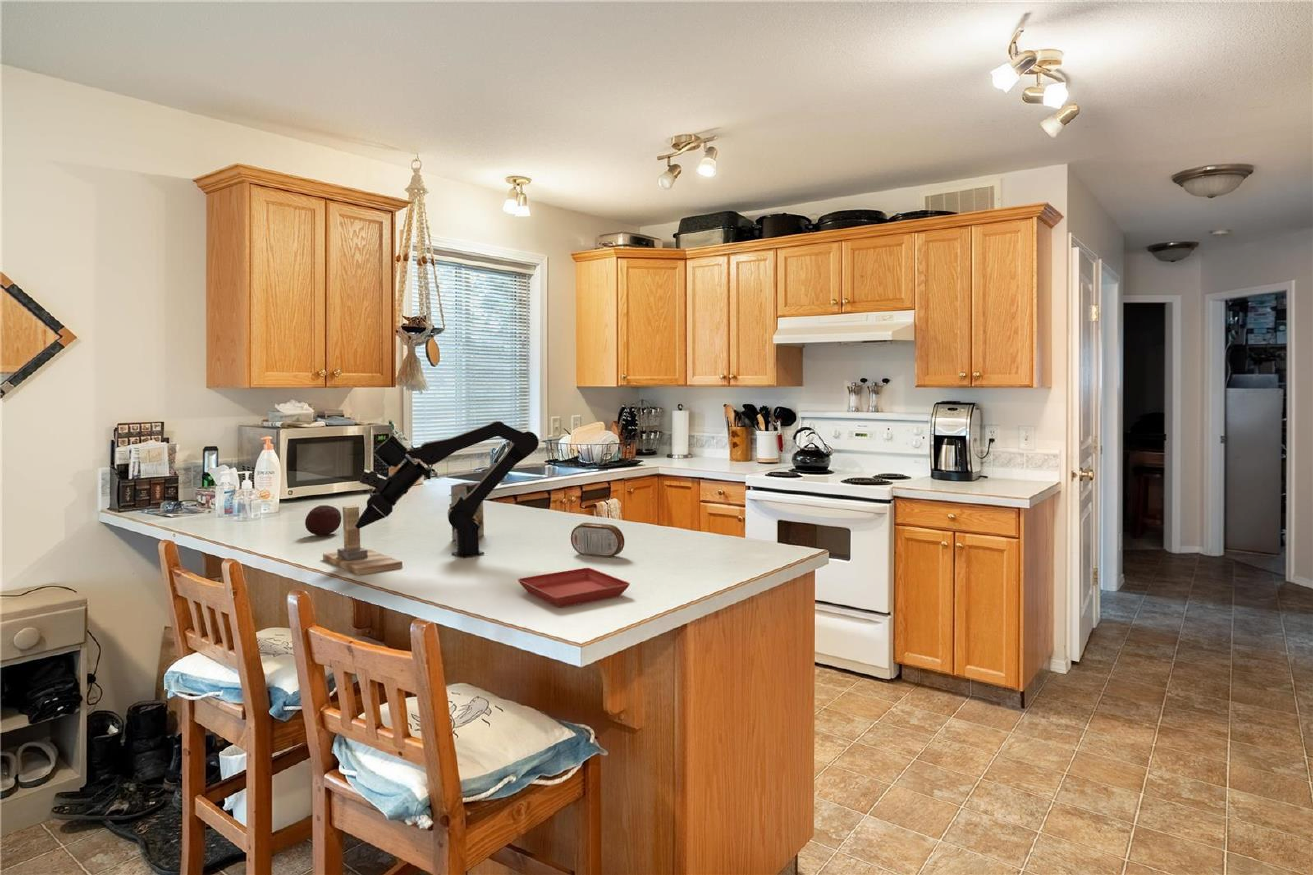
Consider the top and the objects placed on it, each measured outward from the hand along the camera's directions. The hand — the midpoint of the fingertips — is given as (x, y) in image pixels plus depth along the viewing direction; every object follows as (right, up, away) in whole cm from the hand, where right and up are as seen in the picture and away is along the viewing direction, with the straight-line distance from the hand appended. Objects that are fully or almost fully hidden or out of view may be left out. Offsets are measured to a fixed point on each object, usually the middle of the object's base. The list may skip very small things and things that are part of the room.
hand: (358, 524), depth 200 cm
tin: (+61, -9, +6) cm, 62 cm away
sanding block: (-1, -8, 0) cm, 8 cm away
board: (+1, -10, 0) cm, 10 cm away
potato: (-25, -8, +39) cm, 47 cm away
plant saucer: (+58, -12, -32) cm, 68 cm away
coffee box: (+20, -8, +33) cm, 39 cm away
